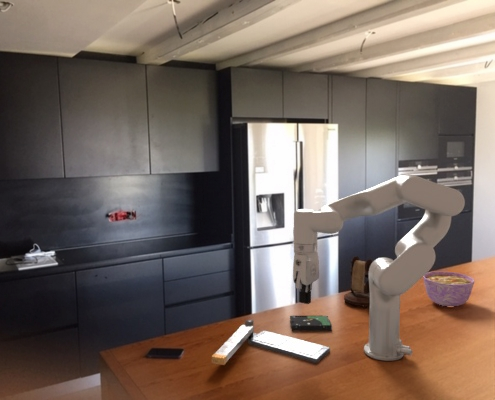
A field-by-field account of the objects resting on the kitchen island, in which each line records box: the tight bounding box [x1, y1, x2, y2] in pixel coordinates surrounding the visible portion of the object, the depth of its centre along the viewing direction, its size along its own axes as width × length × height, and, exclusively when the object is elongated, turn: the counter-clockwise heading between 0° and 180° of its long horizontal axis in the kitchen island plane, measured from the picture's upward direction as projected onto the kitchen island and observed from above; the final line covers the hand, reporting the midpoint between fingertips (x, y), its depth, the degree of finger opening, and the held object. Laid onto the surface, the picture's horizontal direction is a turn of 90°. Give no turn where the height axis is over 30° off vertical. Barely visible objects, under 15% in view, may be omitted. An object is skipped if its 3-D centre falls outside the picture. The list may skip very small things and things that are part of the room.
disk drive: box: [289, 315, 333, 332], centre depth 178 cm, size 10×3×15 cm
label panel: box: [245, 330, 331, 364], centre depth 160 cm, size 32×10×2 cm, turn 55°
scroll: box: [343, 255, 373, 309], centre depth 201 cm, size 15×15×20 cm
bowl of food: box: [422, 271, 475, 307], centre depth 198 cm, size 20×20×12 cm
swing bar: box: [211, 319, 255, 366], centre depth 155 cm, size 30×4×5 cm, turn 160°
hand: (305, 302), depth 153 cm, fingers closed
